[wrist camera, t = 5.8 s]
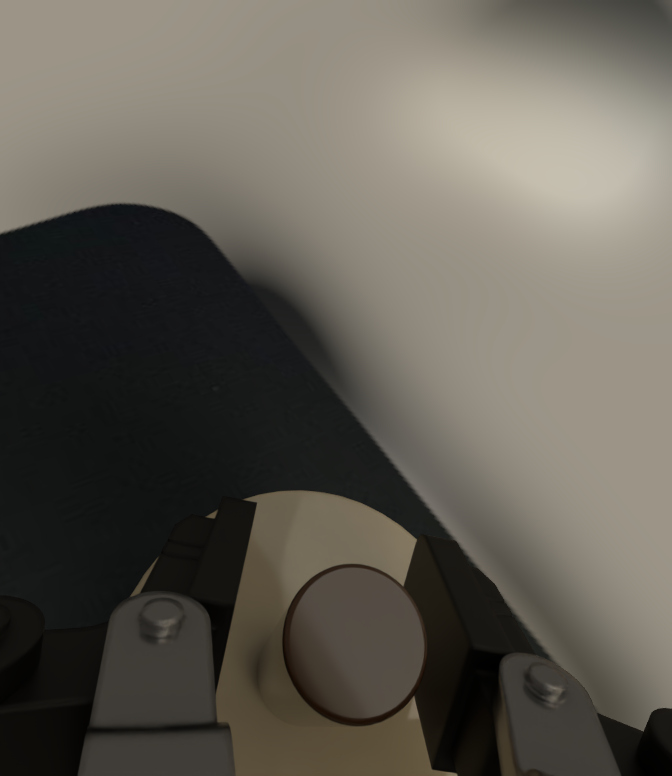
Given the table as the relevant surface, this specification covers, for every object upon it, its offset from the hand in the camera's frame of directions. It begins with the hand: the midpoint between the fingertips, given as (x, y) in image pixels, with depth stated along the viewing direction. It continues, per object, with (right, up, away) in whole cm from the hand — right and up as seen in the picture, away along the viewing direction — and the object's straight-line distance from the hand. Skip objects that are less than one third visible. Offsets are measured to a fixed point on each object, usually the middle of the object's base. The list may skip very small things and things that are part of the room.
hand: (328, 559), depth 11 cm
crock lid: (-1, -3, 0) cm, 3 cm away
